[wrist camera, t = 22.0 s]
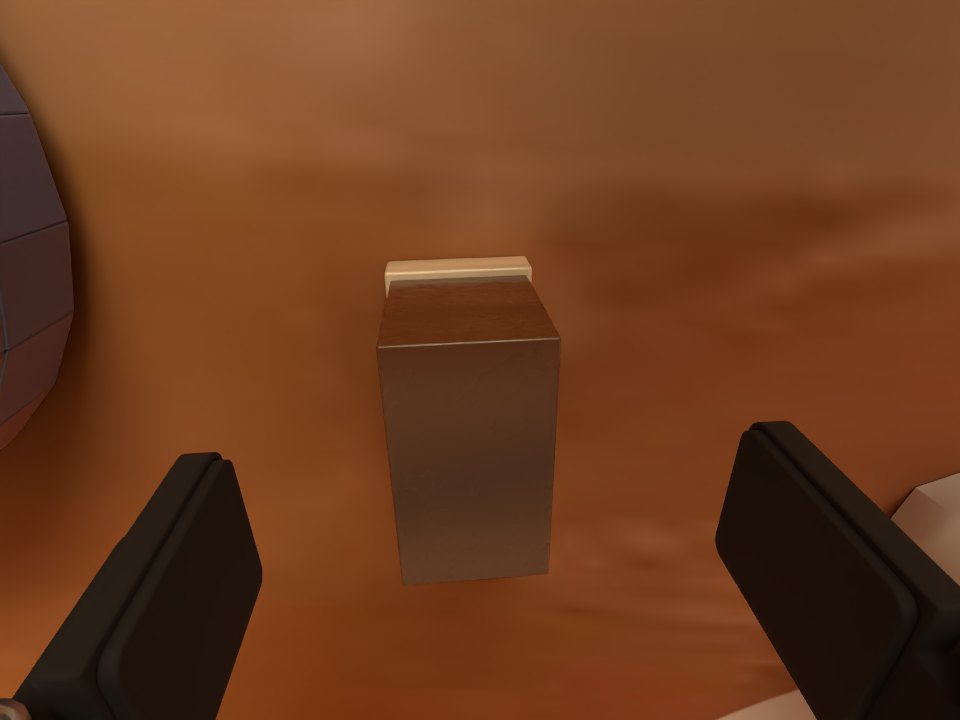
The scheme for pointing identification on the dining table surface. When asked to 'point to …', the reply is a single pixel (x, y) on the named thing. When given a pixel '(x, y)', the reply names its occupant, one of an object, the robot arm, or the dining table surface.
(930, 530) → the salt shaker
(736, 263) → the dining table surface
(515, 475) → the eraser
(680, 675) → the dining table surface
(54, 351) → the bowl
